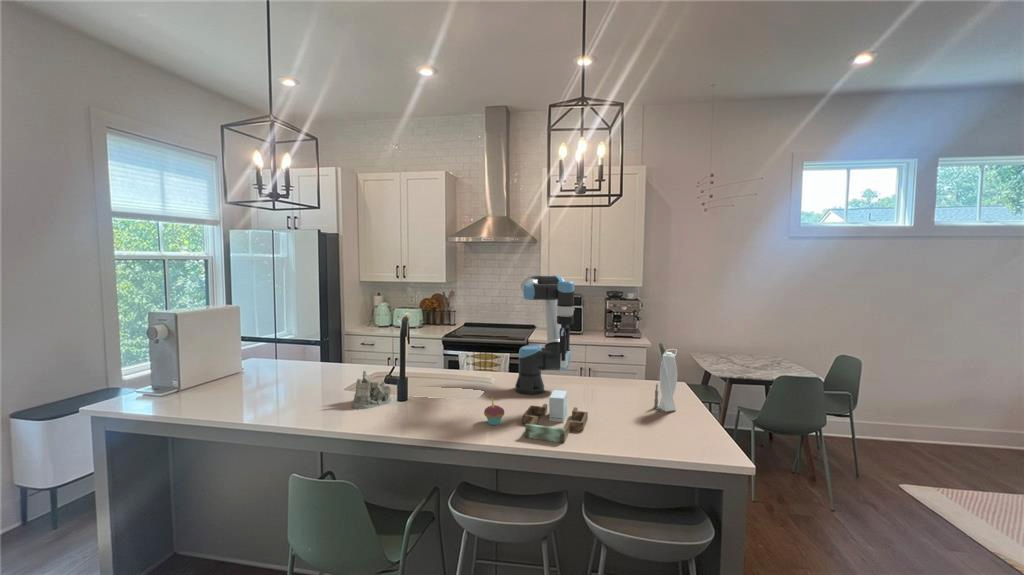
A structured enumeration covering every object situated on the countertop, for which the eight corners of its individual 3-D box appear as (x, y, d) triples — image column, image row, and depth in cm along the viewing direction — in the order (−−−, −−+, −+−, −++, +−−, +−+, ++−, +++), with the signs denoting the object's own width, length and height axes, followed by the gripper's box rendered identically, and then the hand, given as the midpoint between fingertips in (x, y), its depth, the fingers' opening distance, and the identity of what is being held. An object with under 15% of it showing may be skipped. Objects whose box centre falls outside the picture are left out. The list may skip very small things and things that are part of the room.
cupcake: (499, 428, 174) (499, 399, 173) (480, 425, 177) (480, 396, 176) (507, 420, 182) (507, 392, 181) (488, 417, 185) (488, 390, 184)
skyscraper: (668, 405, 202) (670, 347, 200) (680, 411, 195) (682, 350, 193) (653, 407, 200) (655, 347, 198) (664, 413, 192) (666, 351, 190)
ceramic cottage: (346, 408, 195) (348, 375, 194) (364, 397, 211) (366, 367, 211) (379, 412, 193) (381, 379, 192) (394, 401, 209) (396, 371, 208)
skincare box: (552, 412, 192) (553, 389, 192) (567, 414, 191) (567, 390, 190) (548, 421, 182) (548, 396, 181) (563, 422, 180) (564, 398, 180)
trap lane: (512, 435, 166) (513, 423, 166) (533, 410, 195) (533, 399, 195) (577, 445, 159) (577, 431, 158) (588, 416, 187) (589, 405, 187)
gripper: (570, 318, 186) (569, 371, 187) (576, 313, 201) (575, 362, 203) (553, 317, 188) (552, 370, 190) (560, 312, 204) (559, 361, 205)
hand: (564, 366), depth 196 cm, fingers open, 3 cm apart
